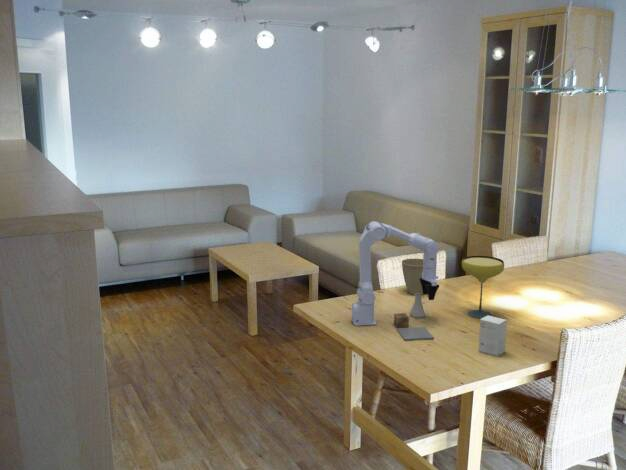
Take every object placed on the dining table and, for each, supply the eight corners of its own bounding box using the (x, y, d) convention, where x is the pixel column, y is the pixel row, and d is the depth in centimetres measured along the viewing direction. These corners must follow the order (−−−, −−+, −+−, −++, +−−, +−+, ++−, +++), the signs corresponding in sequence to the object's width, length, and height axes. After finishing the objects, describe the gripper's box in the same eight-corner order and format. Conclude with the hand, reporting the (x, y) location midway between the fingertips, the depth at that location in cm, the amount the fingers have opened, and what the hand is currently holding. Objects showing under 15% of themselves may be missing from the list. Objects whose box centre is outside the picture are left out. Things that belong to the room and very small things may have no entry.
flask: (413, 319, 274) (414, 297, 272) (406, 313, 281) (407, 292, 279) (428, 317, 276) (429, 295, 274) (421, 312, 283) (422, 291, 281)
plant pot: (433, 297, 303) (434, 265, 300) (402, 297, 304) (403, 265, 300) (428, 288, 318) (429, 258, 314) (399, 288, 318) (400, 258, 315)
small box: (505, 351, 239) (507, 319, 236) (497, 356, 234) (499, 324, 231) (485, 346, 244) (487, 314, 241) (477, 351, 240) (479, 318, 237)
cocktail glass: (500, 309, 286) (504, 257, 280) (501, 323, 269) (504, 267, 263) (460, 306, 290) (462, 254, 285) (458, 319, 273) (461, 264, 268)
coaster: (404, 340, 250) (404, 339, 250) (396, 330, 261) (396, 328, 261) (433, 339, 251) (433, 337, 251) (424, 328, 263) (424, 326, 263)
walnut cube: (397, 329, 263) (397, 317, 262) (393, 324, 268) (394, 313, 267) (408, 328, 264) (408, 317, 262) (405, 324, 268) (405, 313, 267)
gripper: (444, 271, 263) (442, 301, 266) (433, 262, 277) (431, 291, 280) (428, 271, 262) (426, 302, 265) (417, 263, 276) (416, 292, 279)
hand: (428, 297), depth 272 cm, fingers open, 7 cm apart
